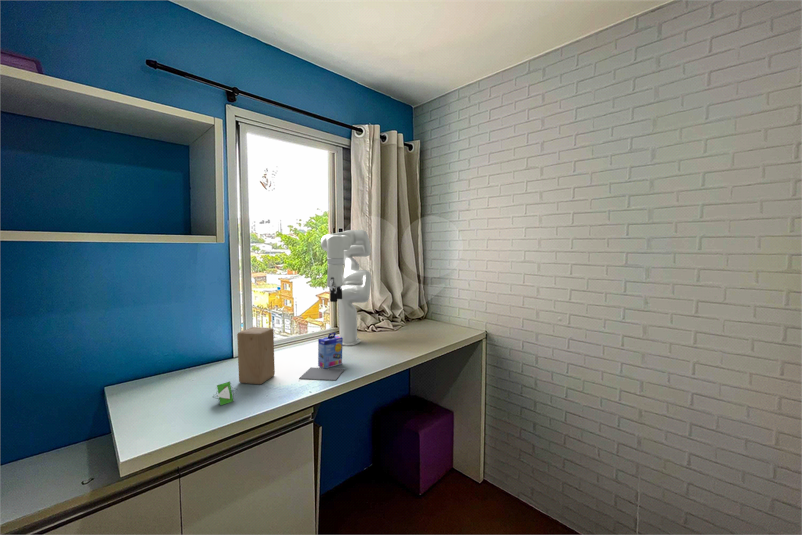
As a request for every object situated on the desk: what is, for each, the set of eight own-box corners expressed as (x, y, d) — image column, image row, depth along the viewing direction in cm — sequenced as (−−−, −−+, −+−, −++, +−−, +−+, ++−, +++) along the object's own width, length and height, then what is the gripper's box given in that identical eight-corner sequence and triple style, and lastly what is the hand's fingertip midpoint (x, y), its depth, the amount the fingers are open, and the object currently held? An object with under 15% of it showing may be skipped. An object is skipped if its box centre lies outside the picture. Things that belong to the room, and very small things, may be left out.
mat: (310, 368, 147) (310, 367, 147) (344, 369, 145) (344, 368, 145) (299, 379, 135) (299, 378, 135) (335, 380, 133) (335, 379, 133)
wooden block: (261, 385, 129) (259, 333, 128) (237, 383, 131) (235, 332, 130) (275, 375, 139) (274, 327, 138) (254, 373, 141) (252, 326, 140)
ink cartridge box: (324, 369, 144) (324, 335, 144) (317, 366, 148) (317, 333, 148) (343, 363, 152) (343, 331, 152) (335, 361, 156) (335, 330, 155)
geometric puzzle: (208, 395, 116) (213, 380, 112) (229, 388, 121) (234, 374, 118) (215, 412, 113) (220, 398, 109) (236, 405, 118) (242, 391, 114)
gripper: (333, 261, 166) (334, 297, 167) (321, 263, 149) (322, 303, 150) (348, 261, 165) (349, 297, 166) (337, 263, 148) (338, 303, 149)
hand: (336, 300), depth 158 cm, fingers open, 6 cm apart
